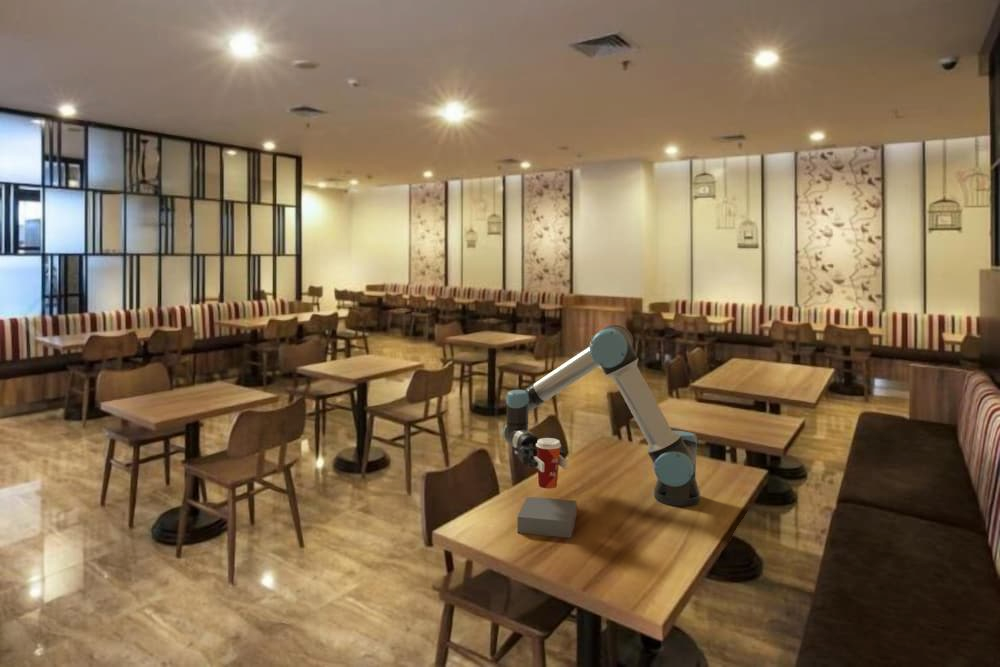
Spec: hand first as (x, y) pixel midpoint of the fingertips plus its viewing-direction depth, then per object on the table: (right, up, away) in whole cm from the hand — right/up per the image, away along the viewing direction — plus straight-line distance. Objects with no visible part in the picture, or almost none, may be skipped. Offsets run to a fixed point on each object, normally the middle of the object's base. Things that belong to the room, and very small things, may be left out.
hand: (554, 466), depth 187 cm
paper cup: (-2, -7, +6) cm, 9 cm away
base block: (-1, -19, +7) cm, 21 cm away
